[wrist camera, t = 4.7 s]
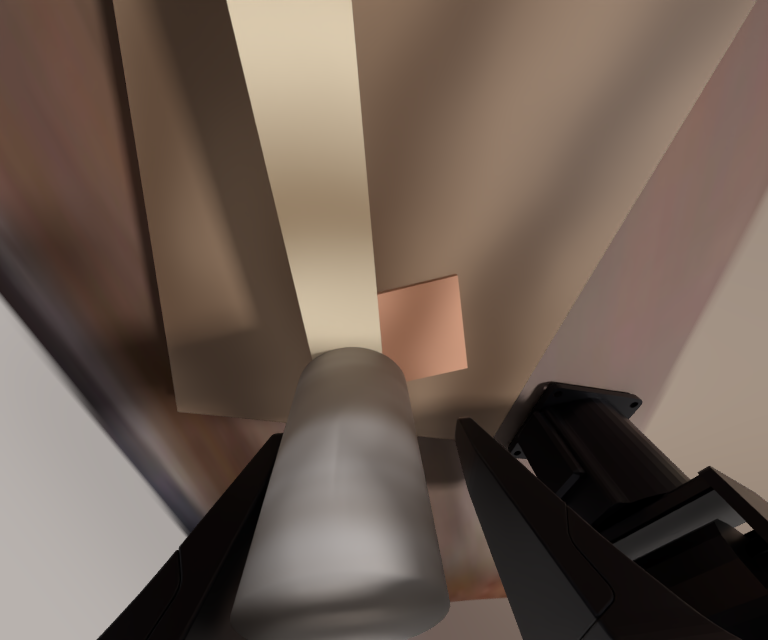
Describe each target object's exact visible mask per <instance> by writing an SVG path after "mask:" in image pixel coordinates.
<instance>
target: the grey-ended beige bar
mask: <svg viewBox="0 0 768 640" xmlns="http://www.w3.org/2000/svg"><path fill="white" fill-rule="evenodd" d="M226 1H227V5H228V9H229V14H230V18H231V22H232V26H233V30H234V34H235V39H236V43H237V47H238V51H239V55H240V60H241V64H242V68H243V72H244V76H245V80H246V85H247V89H248V93H249V97H250V101H251V106H252V110H253V114H254V118H255V122H256V126H257V131H258V135H259V139H260V143H261V147H262V152H263V156H264V160H265V164H266V168H267V172H268V177H269V181H270V185H271V189H272V193H273V197H274V202H275V206H276V210H277V214H278V218H279V223H280V227H281V231H282V235H283V239H284V243H285V248H286V252H287V256H288V260H289V264H290V269H291V273H292V277H293V281H294V285H295V289H296V294H297V298H298V302H299V306H300V310H301V315H302V319H303V323H304V327H305V331H306V335H307V340H308V344H309V348H310V352H311V356H312V361H311V362H310V363H309V364H308V365H307V366H306V367H305V369H304V370H303V372H302V374H301V375H300V378H299V381H298V385H297V388H296V392H295V395H294V398H293V402H292V405H291V409H290V412H289V416H288V419H287V423H286V426H285V429H284V433H283V436H282V440H281V443H280V447H279V450H278V454H277V457H276V460H275V464H274V467H273V471H272V474H271V478H270V481H269V485H268V488H267V491H266V495H265V498H264V502H263V505H262V509H261V512H260V516H259V519H258V522H257V526H256V529H255V533H254V536H253V540H252V543H251V546H250V550H249V553H248V557H247V560H246V564H245V567H244V571H243V574H242V577H241V581H240V584H239V588H238V591H237V595H236V598H235V602H234V605H233V608H232V612H231V615H230V622H231V625H232V627H233V628H234V630H235V631H236V632H237V633H238V634H240V635H241V636H242V637H244V638H246V639H248V640H406V639H409V638H412V637H414V636H417V635H419V634H421V633H423V632H425V631H427V630H429V629H431V628H432V627H434V626H435V625H437V624H438V623H439V622H440V621H441V620H442V619H443V618H444V617H445V616H446V614H447V613H448V611H449V608H450V600H449V595H448V590H447V585H446V580H445V575H444V570H443V565H442V560H441V555H440V550H439V545H438V540H437V535H436V530H435V525H434V520H433V515H432V510H431V505H430V499H429V494H428V489H427V484H426V479H425V474H424V469H423V464H422V459H421V454H420V449H419V444H418V439H417V434H416V429H415V424H414V419H413V414H412V409H411V404H410V399H409V394H408V388H407V383H406V379H405V376H404V374H403V372H402V370H401V369H400V367H399V366H398V365H397V364H396V363H395V362H394V361H393V360H392V359H390V358H389V357H387V356H386V355H384V354H382V345H381V333H380V322H379V310H378V299H377V287H376V276H375V264H374V253H373V241H372V229H371V218H370V206H369V195H368V183H367V172H366V160H365V149H364V137H363V126H362V114H361V103H360V91H359V80H358V68H357V57H356V45H355V34H354V22H353V11H352V0H226Z"/></svg>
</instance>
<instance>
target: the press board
mask: <svg viewBox="0 0 768 640" xmlns="http://www.w3.org/2000/svg"><path fill="white" fill-rule="evenodd" d="M756 1H757V0H352V11H353V22H354V34H355V45H356V57H357V68H358V80H359V91H360V103H361V114H362V126H363V137H364V149H365V160H366V172H367V183H368V195H369V206H370V218H371V229H372V241H373V253H374V264H375V276H376V287H377V299H378V310H379V322H380V333H381V345H382V354H384V355H386V356H387V357H389V358H390V359H392V360H393V361H394V362H395V363H396V364H397V365H398V366H399V367H400V369H401V370H402V372H403V374H404V376H405V379H406V383H407V388H408V394H409V399H410V404H411V409H412V414H413V419H414V424H415V429H416V434H417V436H421V437H431V438H441V439H451V440H455V430H456V422H457V419H458V418H459V417H470V418H472V419H473V420H474V421H475V422H476V423H477V424H479V425H480V426H481V427H482V428H483V429H484V430H485V431H486V432H487V433H488V434H490V435H491V436H492V437H494V435H495V434H496V432H497V430H498V429H499V427H500V426H501V424H502V422H503V421H504V419H505V417H506V416H507V414H508V412H509V411H510V409H511V407H512V406H513V404H514V402H515V401H516V399H517V397H518V396H519V394H520V392H521V391H522V389H523V387H524V386H525V384H526V382H527V381H528V379H529V377H530V376H531V374H532V372H533V371H534V369H535V367H536V366H537V364H538V363H539V361H540V359H541V358H542V356H543V354H544V353H545V351H546V349H547V348H548V346H549V344H550V343H551V341H552V339H553V338H554V336H555V334H556V333H557V331H558V329H559V328H560V326H561V324H562V323H563V321H564V319H565V318H566V316H567V314H568V313H569V311H570V309H571V308H572V306H573V304H574V303H575V301H576V299H577V298H578V296H579V295H580V293H581V291H582V290H583V288H584V286H585V285H586V283H587V281H588V280H589V278H590V276H591V275H592V273H593V271H594V270H595V268H596V266H597V265H598V263H599V261H600V260H601V258H602V256H603V255H604V253H605V251H606V250H607V248H608V246H609V245H610V243H611V241H612V240H613V238H614V236H615V235H616V233H617V231H618V230H619V228H620V227H621V225H622V223H623V222H624V220H625V218H626V217H627V215H628V213H629V212H630V210H631V208H632V207H633V205H634V203H635V202H636V200H637V198H638V197H639V195H640V193H641V192H642V190H643V188H644V187H645V185H646V183H647V182H648V180H649V178H650V177H651V175H652V173H653V172H654V170H655V168H656V167H657V165H658V163H659V162H660V160H661V159H662V157H663V155H664V154H665V152H666V150H667V149H668V147H669V145H670V144H671V142H672V140H673V139H674V137H675V135H676V134H677V132H678V130H679V129H680V127H681V125H682V124H683V122H684V120H685V119H686V117H687V115H688V114H689V112H690V110H691V109H692V107H693V105H694V104H695V102H696V100H697V99H698V97H699V96H700V94H701V92H702V91H703V89H704V87H705V86H706V84H707V82H708V81H709V79H710V77H711V76H712V74H713V72H714V71H715V69H716V67H717V66H718V64H719V62H720V61H721V59H722V57H723V56H724V54H725V52H726V51H727V49H728V47H729V46H730V44H731V42H732V41H733V39H734V37H735V36H736V34H737V32H738V31H739V29H740V28H741V26H742V24H743V23H744V21H745V19H746V18H747V16H748V14H749V13H750V11H751V9H752V8H753V6H754V4H755V3H756ZM113 5H114V11H115V18H116V24H117V30H118V37H119V43H120V49H121V56H122V62H123V68H124V75H125V81H126V87H127V94H128V100H129V106H130V113H131V119H132V125H133V132H134V138H135V144H136V151H137V157H138V163H139V170H140V176H141V182H142V189H143V195H144V201H145V208H146V214H147V220H148V227H149V233H150V239H151V246H152V252H153V258H154V265H155V271H156V277H157V284H158V290H159V296H160V303H161V309H162V315H163V322H164V328H165V334H166V341H167V347H168V353H169V360H170V366H171V372H172V379H173V385H174V391H175V398H176V404H177V410H178V412H185V413H195V414H205V415H215V416H224V417H234V418H244V419H254V420H264V421H274V422H284V423H287V419H288V416H289V412H290V409H291V405H292V402H293V398H294V395H295V392H296V388H297V385H298V381H299V378H300V375H301V374H302V372H303V370H304V369H305V367H306V366H307V365H308V364H309V363H310V362H311V361H312V356H311V352H310V348H309V344H308V340H307V335H306V331H305V327H304V323H303V319H302V315H301V310H300V306H299V302H298V298H297V294H296V289H295V285H294V281H293V277H292V273H291V269H290V264H289V260H288V256H287V252H286V248H285V243H284V239H283V235H282V231H281V227H280V223H279V218H278V214H277V210H276V206H275V202H274V197H273V193H272V189H271V185H270V181H269V177H268V172H267V168H266V164H265V160H264V156H263V152H262V147H261V143H260V139H259V135H258V131H257V126H256V122H255V118H254V114H253V110H252V106H251V101H250V97H249V93H248V89H247V85H246V80H245V76H244V72H243V68H242V64H241V60H240V55H239V51H238V47H237V43H236V39H235V34H234V30H233V26H232V22H231V18H230V14H229V9H228V5H227V1H226V0H113Z"/></svg>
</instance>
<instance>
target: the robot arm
mask: <svg viewBox="0 0 768 640" xmlns="http://www.w3.org/2000/svg"><path fill="white" fill-rule="evenodd" d="M641 404H642V400H641V399H640V398H638V397H637V396H636V395H634V394H627V393H620V392H613V391H607V390H600V389H593V388H586V387H579V386H572V385H566V384H559V383H556V384H552V385H550V386H549V387H548V388H547V389H546V391H545V392H544V394H543V395H542V397H541V398H540V400H539V402H538V403H537V405H536V406H535V408H534V409H533V411H532V412H531V414H530V415H529V417H528V418H527V420H526V421H525V423H524V424H523V426H522V427H521V429H520V431H519V432H518V434H517V435H516V437H515V438H514V440H513V441H512V443H511V444H510V446H509V447H508V451H507V450H506V449H505V448H504V447H503V446H502V445H501V444H500V443H498V442H497V441H496V440H495V439H494V438H493V437H492V436H491V435H490V434H488V433H487V432H486V431H485V430H484V429H483V428H482V427H481V426H480V425H479V424H477V423H476V422H475V421H474V420H473V419H472V418H470V417H459V418H458V419H457V422H456V430H455V442H456V446H457V450H458V454H459V458H460V461H461V465H462V469H463V473H464V477H465V481H466V485H467V488H468V491H469V494H470V497H471V500H472V503H473V505H474V508H475V511H476V514H477V516H478V519H479V522H480V524H481V527H482V530H483V533H484V535H485V538H486V541H487V543H488V546H489V549H490V552H491V554H492V557H493V560H494V562H495V565H496V568H497V570H498V573H499V576H500V579H501V581H502V584H503V587H504V589H505V592H506V595H507V598H508V600H509V603H510V606H511V608H512V611H513V614H514V616H515V619H516V622H517V625H518V627H519V630H520V633H521V636H522V638H523V640H768V502H766V501H765V500H764V499H763V498H762V497H760V496H759V495H758V494H756V493H755V492H753V491H752V490H750V489H748V488H747V487H745V486H743V485H742V484H739V483H738V482H737V481H735V480H733V479H731V478H730V477H728V476H726V475H725V474H723V473H721V472H720V471H718V470H716V469H714V468H713V467H711V466H708V467H706V468H705V469H703V470H701V471H700V472H698V474H699V475H698V476H696V477H695V478H693V479H691V480H690V479H689V478H688V477H687V476H686V475H685V474H684V473H683V472H682V471H681V470H680V469H679V468H678V467H677V466H676V465H675V464H674V463H673V462H672V461H670V459H669V458H668V457H667V456H665V454H664V453H662V452H661V451H660V450H659V449H658V448H657V447H656V446H655V445H654V444H653V443H652V442H651V441H650V440H649V439H648V438H647V437H646V436H645V435H644V434H643V433H642V432H641V431H640V430H639V429H638V428H637V427H636V426H635V425H634V424H633V423H632V422H631V421H630V420H629V418H630V417H631V416H632V415H633V414H634V413H635V411H636V410H637V409H638V408H639V407H640V406H641ZM282 436H283V433H277V434H273V435H272V436H271V437H270V438H269V439H268V441H267V442H266V443H265V444H264V445H263V447H262V448H261V449H260V450H259V451H258V453H257V454H256V455H255V456H254V457H253V459H252V460H251V461H250V462H249V463H248V465H247V466H246V467H245V468H244V469H243V471H242V472H241V473H240V474H239V475H238V477H237V478H236V479H235V480H234V482H233V483H232V484H231V485H230V486H229V488H228V489H227V490H226V491H225V492H224V494H223V495H222V496H221V497H220V498H219V500H218V501H217V502H216V503H215V504H214V506H213V507H212V508H211V509H210V510H209V512H208V513H207V514H206V515H205V516H204V518H203V519H202V520H201V521H200V522H199V524H198V525H197V526H196V527H195V528H194V530H193V531H192V532H191V533H190V534H189V536H188V537H187V538H186V539H185V541H184V542H183V543H182V544H181V545H180V547H179V550H176V551H175V552H174V554H173V555H172V556H171V557H170V558H169V560H168V561H167V562H166V563H165V564H164V566H163V567H162V568H161V569H160V570H159V571H158V573H157V574H156V575H155V576H154V577H153V578H152V580H151V581H150V582H149V583H148V584H147V586H146V587H145V588H144V589H143V590H142V591H141V592H140V594H139V595H138V596H137V597H136V598H135V599H134V600H133V601H132V602H131V603H130V604H129V605H128V607H127V608H126V609H125V610H124V611H123V612H122V613H121V614H120V615H119V617H118V618H117V619H116V620H115V621H114V622H113V623H112V624H111V625H110V626H109V627H108V628H107V629H106V630H105V631H104V633H103V634H102V635H101V636H100V637H99V638H98V639H97V640H248V639H246V638H244V637H242V636H241V635H240V634H238V633H237V632H236V631H235V630H234V628H233V627H232V625H231V622H230V615H231V612H232V608H233V605H234V602H235V598H236V595H237V591H238V588H239V584H240V581H241V577H242V574H243V571H244V567H245V564H246V560H247V557H248V553H249V550H250V546H251V543H252V540H253V536H254V533H255V529H256V526H257V522H258V519H259V516H260V512H261V509H262V505H263V502H264V498H265V495H266V491H267V488H268V485H269V481H270V478H271V474H272V471H273V467H274V464H275V460H276V457H277V454H278V450H279V447H280V443H281V440H282ZM516 458H522V459H527V460H528V462H529V464H530V465H531V467H532V469H533V471H534V473H535V474H536V476H537V477H536V476H535V475H534V474H533V473H531V472H530V471H529V470H528V469H527V468H526V467H525V466H524V465H523V464H522V463H520V462H519V461H518V460H517V459H516ZM745 522H747V523H748V524H749V525H750V526H751V527H752V528H753V529H754V530H752V531H750V532H748V533H746V534H744V535H743V534H742V533H740V532H739V531H737V530H736V529H735V528H734V527H736V526H738V525H741V524H743V523H745Z"/></svg>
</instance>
